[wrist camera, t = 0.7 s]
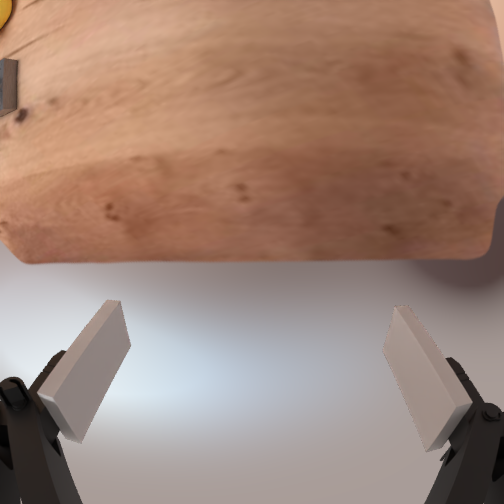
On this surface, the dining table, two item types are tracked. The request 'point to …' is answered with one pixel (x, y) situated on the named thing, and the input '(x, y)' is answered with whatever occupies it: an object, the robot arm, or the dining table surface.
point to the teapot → (5, 11)
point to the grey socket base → (8, 86)
